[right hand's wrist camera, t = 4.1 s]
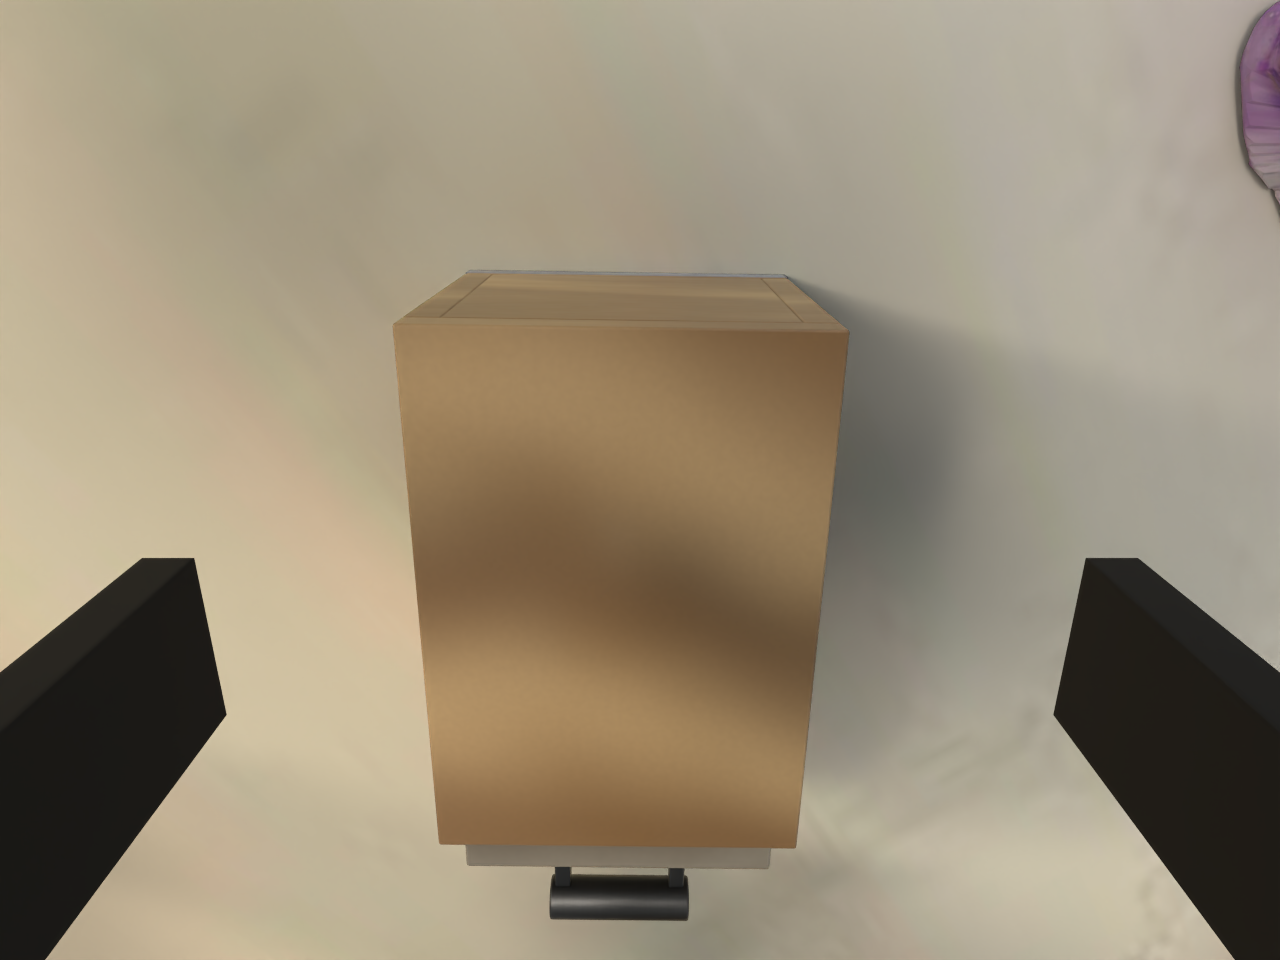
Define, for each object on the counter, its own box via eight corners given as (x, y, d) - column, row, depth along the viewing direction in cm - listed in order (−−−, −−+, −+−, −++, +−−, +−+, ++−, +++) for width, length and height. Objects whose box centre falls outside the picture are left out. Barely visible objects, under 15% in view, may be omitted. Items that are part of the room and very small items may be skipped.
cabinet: (755, 667, 37) (796, 849, 28) (491, 663, 37) (438, 845, 27) (784, 274, 31) (850, 329, 21) (469, 270, 31) (391, 323, 21)
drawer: (734, 825, 39) (758, 995, 31) (509, 822, 39) (475, 993, 31) (766, 366, 31) (808, 437, 24) (485, 362, 31) (433, 432, 24)
